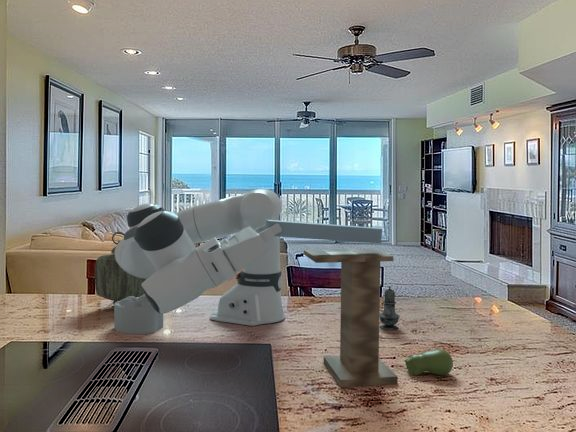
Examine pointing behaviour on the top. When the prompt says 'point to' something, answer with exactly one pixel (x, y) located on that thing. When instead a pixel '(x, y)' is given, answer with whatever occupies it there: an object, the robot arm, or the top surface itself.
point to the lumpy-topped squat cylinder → (136, 316)
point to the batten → (327, 231)
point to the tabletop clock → (115, 279)
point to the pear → (430, 362)
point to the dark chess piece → (389, 311)
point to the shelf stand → (358, 317)
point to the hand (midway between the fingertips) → (277, 225)
